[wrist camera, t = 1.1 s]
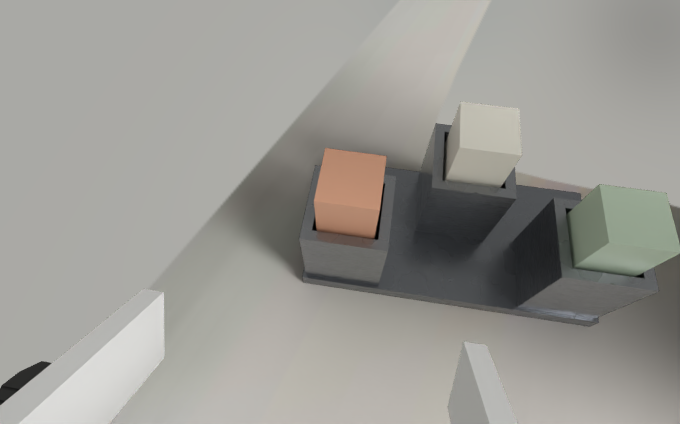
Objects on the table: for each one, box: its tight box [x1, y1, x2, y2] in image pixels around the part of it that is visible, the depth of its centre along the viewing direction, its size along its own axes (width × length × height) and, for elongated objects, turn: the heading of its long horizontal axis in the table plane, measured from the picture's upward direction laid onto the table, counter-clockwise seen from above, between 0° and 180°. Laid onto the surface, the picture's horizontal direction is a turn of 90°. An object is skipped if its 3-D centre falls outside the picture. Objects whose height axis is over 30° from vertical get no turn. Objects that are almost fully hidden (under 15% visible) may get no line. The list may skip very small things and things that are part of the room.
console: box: [299, 123, 659, 326], centre depth 36 cm, size 26×13×10 cm, turn 81°
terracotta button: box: [314, 148, 387, 239], centre depth 32 cm, size 4×4×8 cm
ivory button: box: [443, 102, 522, 188], centre depth 34 cm, size 4×4×8 cm
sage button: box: [566, 184, 680, 277], centre depth 30 cm, size 4×4×8 cm
